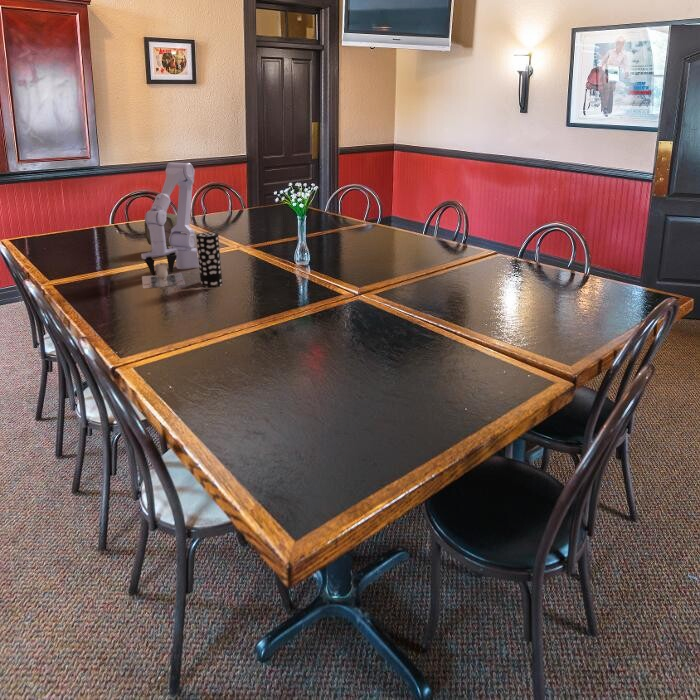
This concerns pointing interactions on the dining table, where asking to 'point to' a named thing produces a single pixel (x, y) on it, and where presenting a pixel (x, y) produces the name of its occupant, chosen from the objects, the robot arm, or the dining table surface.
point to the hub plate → (163, 280)
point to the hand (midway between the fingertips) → (162, 273)
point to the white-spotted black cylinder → (209, 259)
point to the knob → (161, 270)
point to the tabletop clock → (169, 224)
